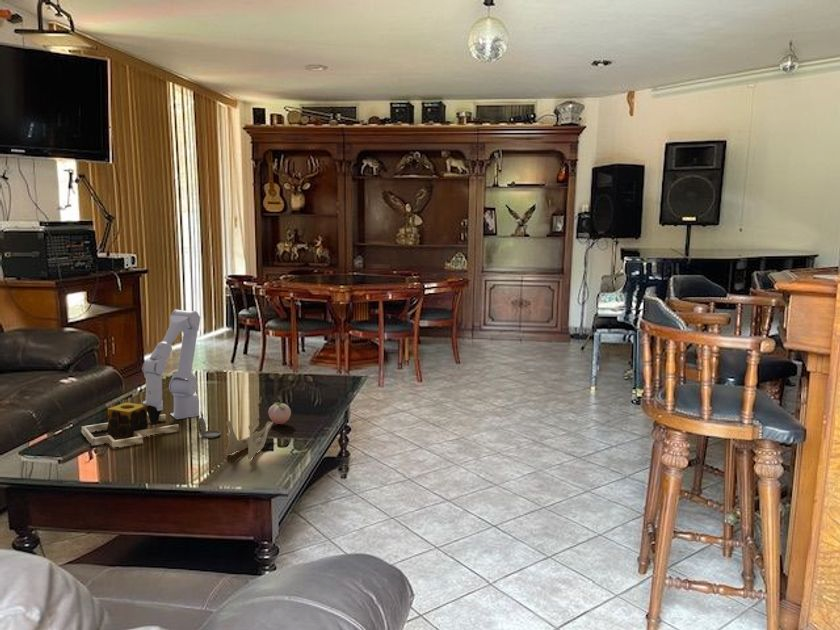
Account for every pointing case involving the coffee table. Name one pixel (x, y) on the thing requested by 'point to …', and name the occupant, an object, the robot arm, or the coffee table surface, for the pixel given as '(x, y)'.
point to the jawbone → (247, 440)
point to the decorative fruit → (279, 413)
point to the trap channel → (127, 441)
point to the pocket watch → (203, 429)
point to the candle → (127, 419)
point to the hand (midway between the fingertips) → (154, 424)
